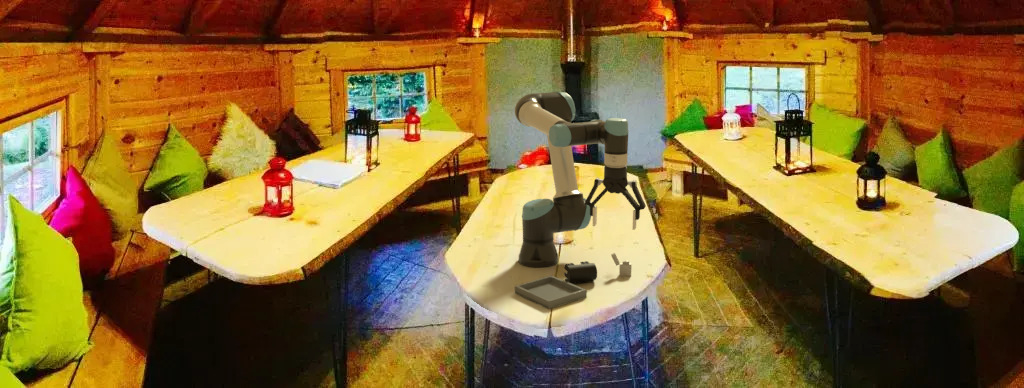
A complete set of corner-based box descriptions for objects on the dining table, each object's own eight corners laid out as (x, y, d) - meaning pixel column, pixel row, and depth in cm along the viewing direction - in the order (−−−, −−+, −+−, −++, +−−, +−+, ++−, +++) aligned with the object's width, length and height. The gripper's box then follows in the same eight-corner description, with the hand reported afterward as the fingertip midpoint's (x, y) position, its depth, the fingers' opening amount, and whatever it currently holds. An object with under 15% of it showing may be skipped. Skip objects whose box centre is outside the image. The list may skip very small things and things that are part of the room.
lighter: (631, 274, 254) (631, 253, 252) (631, 276, 252) (631, 254, 251) (611, 273, 255) (611, 252, 253) (611, 275, 253) (611, 254, 251)
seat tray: (514, 293, 238) (514, 285, 238) (551, 282, 248) (551, 275, 247) (549, 309, 224) (548, 301, 224) (586, 297, 234) (586, 289, 233)
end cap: (570, 287, 243) (570, 268, 241) (563, 280, 250) (563, 262, 248) (597, 284, 246) (597, 265, 244) (589, 277, 252) (589, 259, 251)
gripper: (576, 165, 235) (575, 226, 241) (651, 170, 227) (649, 233, 232) (581, 161, 242) (581, 220, 248) (655, 165, 234) (653, 226, 239)
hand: (614, 226), depth 240 cm, fingers open, 13 cm apart
